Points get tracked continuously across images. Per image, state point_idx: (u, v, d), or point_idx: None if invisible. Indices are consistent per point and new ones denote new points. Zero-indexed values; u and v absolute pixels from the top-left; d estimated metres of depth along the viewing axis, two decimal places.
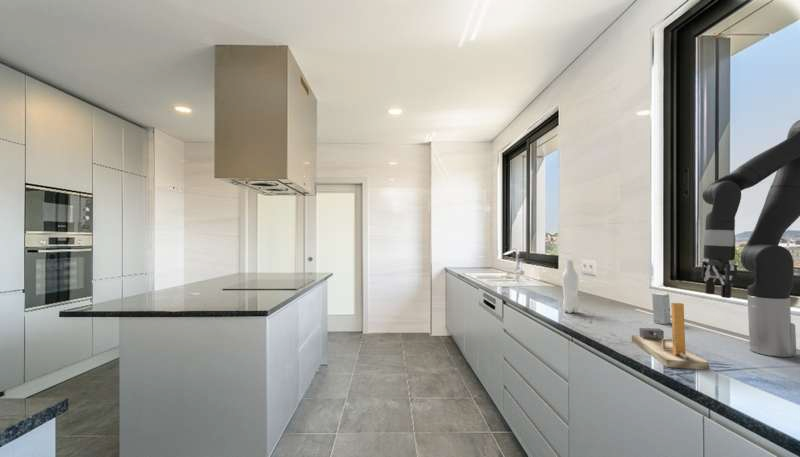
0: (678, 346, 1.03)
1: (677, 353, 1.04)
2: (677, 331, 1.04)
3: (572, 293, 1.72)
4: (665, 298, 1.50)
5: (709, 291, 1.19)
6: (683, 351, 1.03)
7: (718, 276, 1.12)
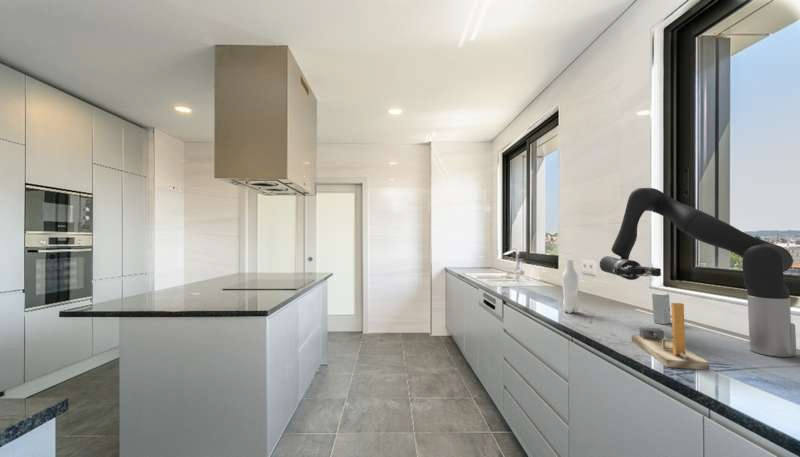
0: (678, 346, 1.03)
1: (677, 353, 1.04)
2: (677, 331, 1.04)
3: (572, 293, 1.72)
4: (664, 298, 1.50)
5: (655, 274, 1.27)
6: (683, 351, 1.03)
7: (626, 275, 1.34)
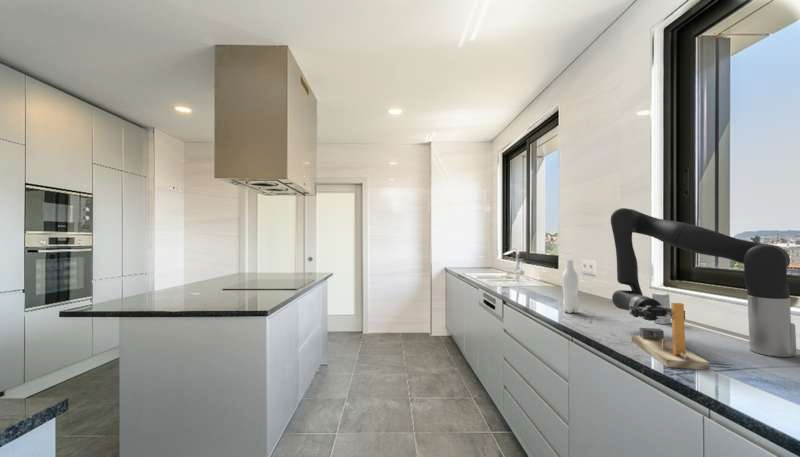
0: (678, 346, 1.03)
1: (677, 353, 1.04)
2: (677, 331, 1.04)
3: (572, 293, 1.72)
4: (665, 298, 1.50)
5: None
6: (683, 351, 1.03)
7: None
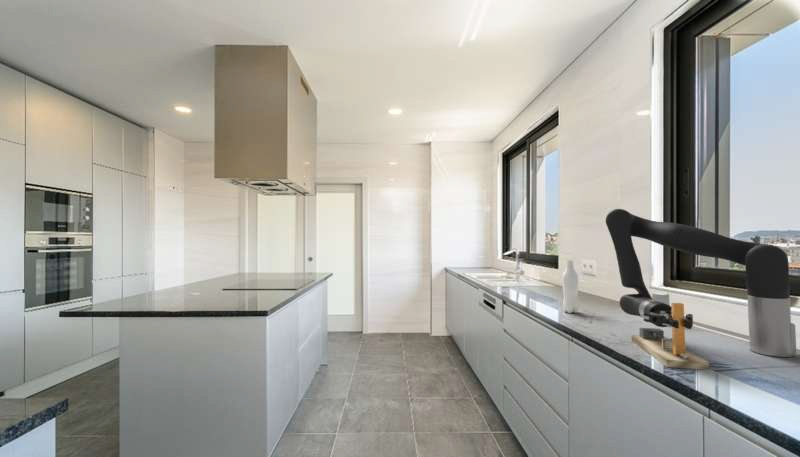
0: (678, 346, 1.03)
1: (677, 353, 1.04)
2: (677, 331, 1.04)
3: (572, 293, 1.72)
4: (664, 298, 1.50)
5: (687, 325, 1.02)
6: (683, 351, 1.03)
7: (665, 325, 1.08)
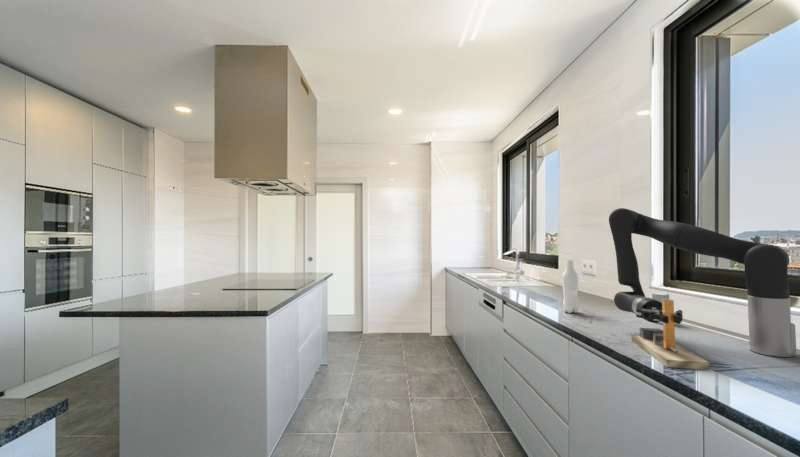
0: (668, 340, 1.09)
1: (667, 347, 1.09)
2: (667, 326, 1.09)
3: (572, 293, 1.72)
4: (664, 298, 1.50)
5: (676, 320, 1.08)
6: (673, 345, 1.09)
7: (656, 320, 1.14)
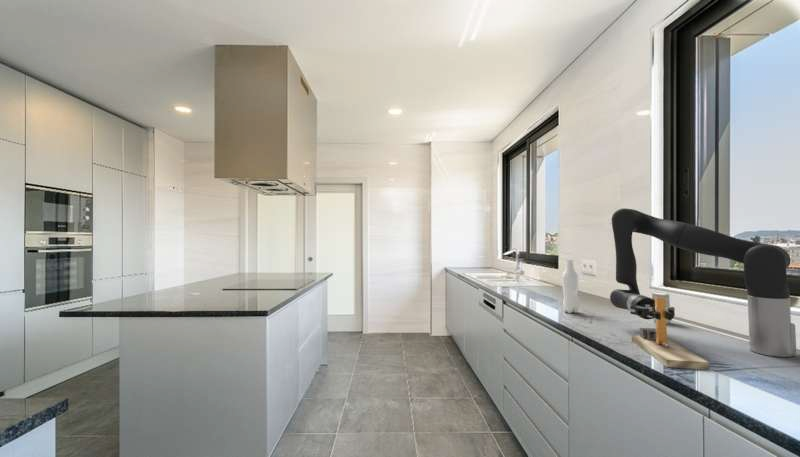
0: (660, 336, 1.14)
1: (659, 342, 1.14)
2: (660, 322, 1.14)
3: (572, 293, 1.72)
4: None
5: (668, 317, 1.13)
6: (665, 340, 1.14)
7: (649, 317, 1.19)
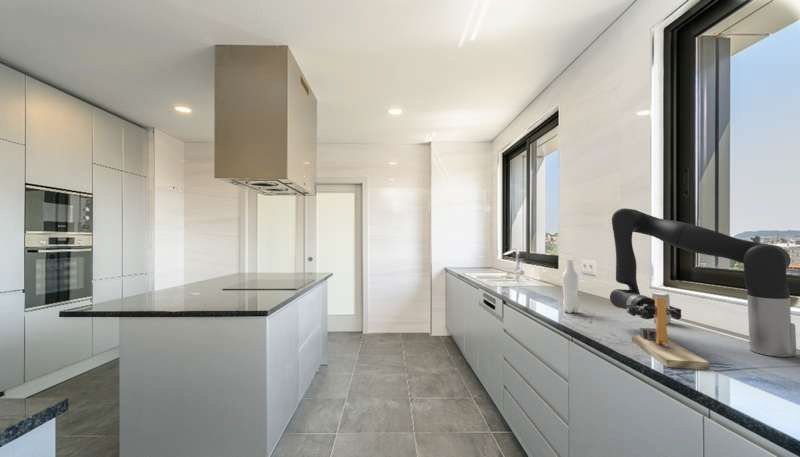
0: (660, 336, 1.14)
1: (660, 342, 1.14)
2: (660, 322, 1.14)
3: (572, 293, 1.72)
4: None
5: (676, 316, 1.13)
6: (665, 340, 1.14)
7: None
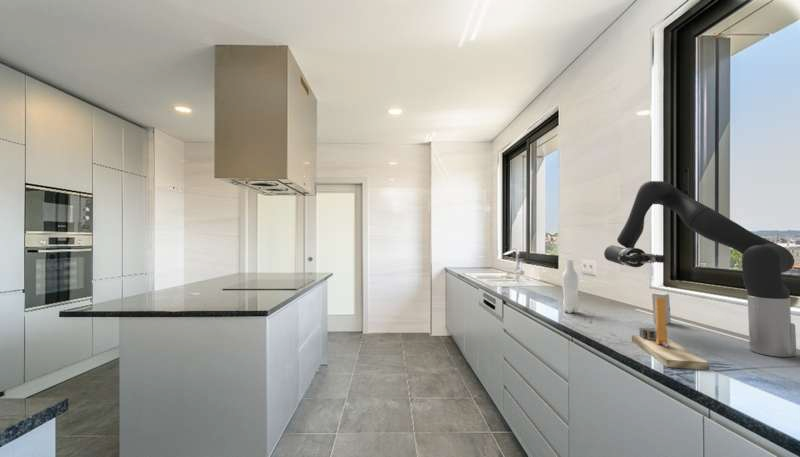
0: (660, 336, 1.14)
1: (660, 342, 1.14)
2: (660, 322, 1.14)
3: (572, 293, 1.72)
4: None
5: (660, 260, 1.30)
6: (665, 340, 1.14)
7: (631, 263, 1.37)
